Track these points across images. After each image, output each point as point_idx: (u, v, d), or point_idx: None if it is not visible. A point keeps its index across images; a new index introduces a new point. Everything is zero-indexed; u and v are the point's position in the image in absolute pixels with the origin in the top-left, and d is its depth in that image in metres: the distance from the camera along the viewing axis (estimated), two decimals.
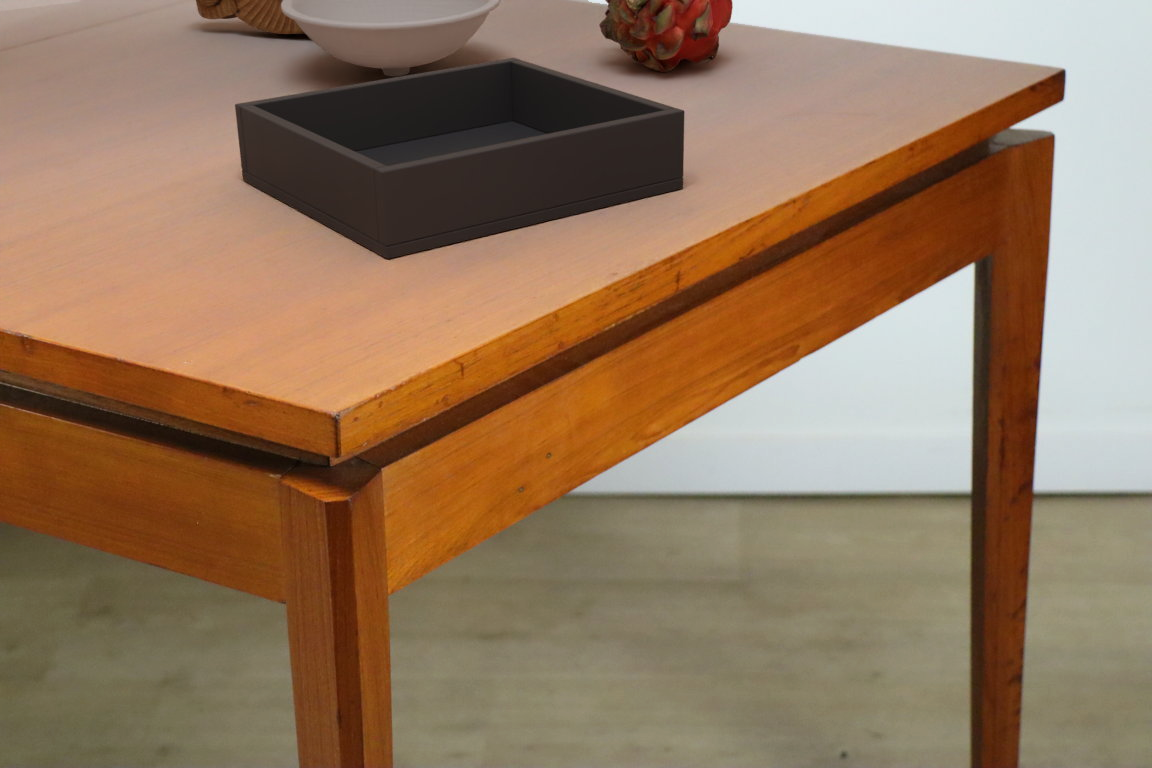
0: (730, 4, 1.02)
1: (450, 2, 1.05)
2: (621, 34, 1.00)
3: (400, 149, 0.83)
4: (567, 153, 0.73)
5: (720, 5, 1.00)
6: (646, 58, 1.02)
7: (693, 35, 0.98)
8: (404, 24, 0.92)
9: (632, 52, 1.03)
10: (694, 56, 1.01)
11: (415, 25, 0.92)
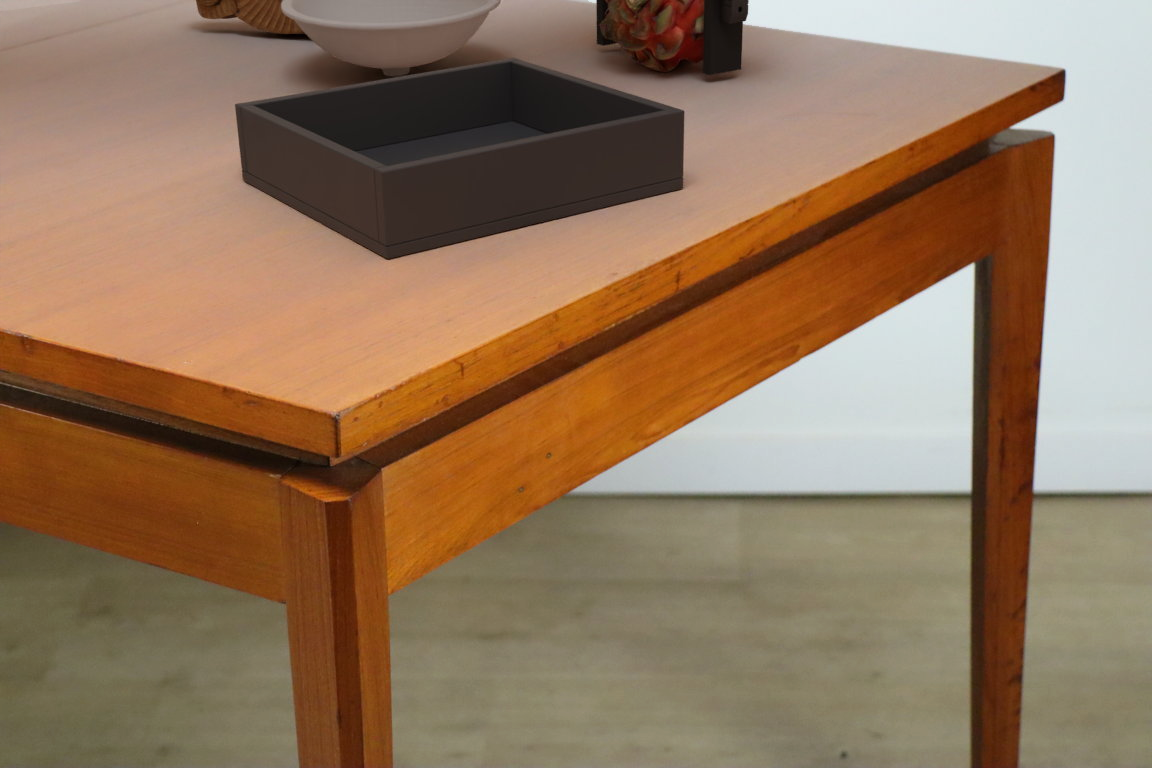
0: None
1: (450, 2, 1.05)
2: (621, 34, 1.00)
3: (400, 149, 0.83)
4: (567, 153, 0.73)
5: None
6: (646, 58, 1.02)
7: (693, 35, 0.98)
8: (404, 24, 0.92)
9: (632, 52, 1.03)
10: (694, 56, 1.01)
11: (415, 25, 0.92)
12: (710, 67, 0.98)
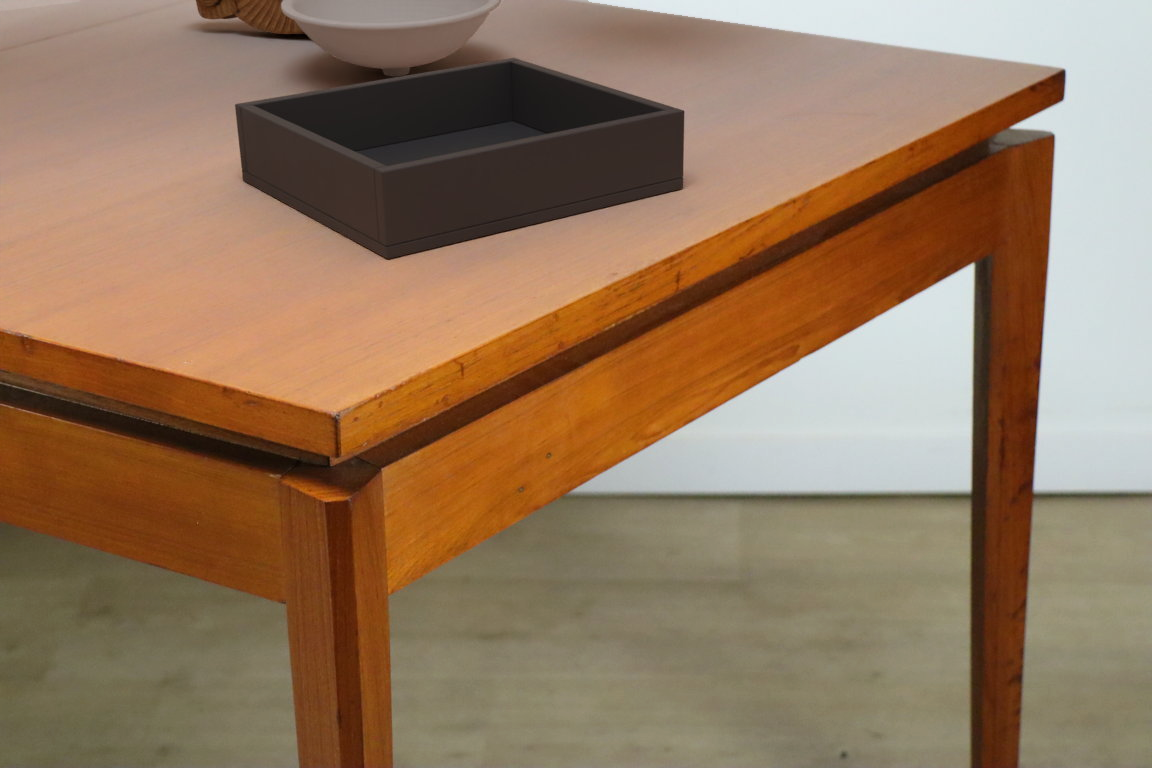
0: None
1: (450, 2, 1.05)
2: None
3: (400, 149, 0.83)
4: (567, 153, 0.73)
5: None
6: None
7: None
8: (404, 24, 0.92)
9: None
10: None
11: (415, 25, 0.92)
12: None
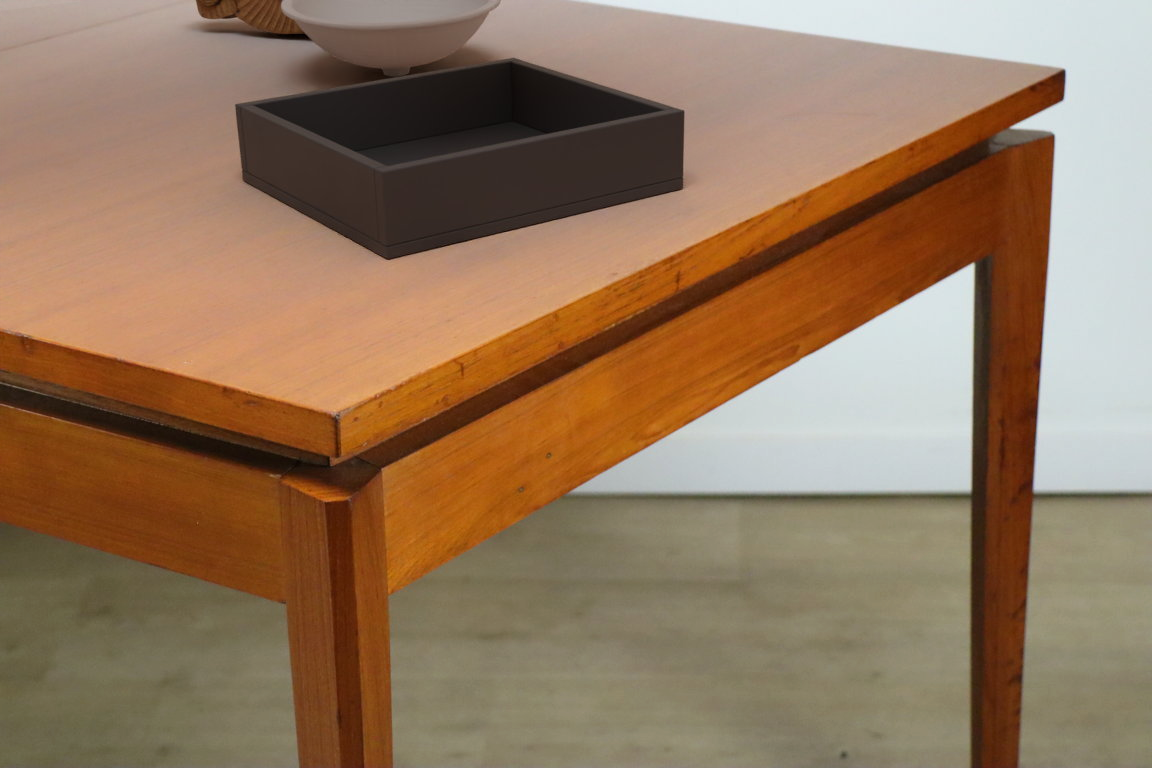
0: None
1: (450, 2, 1.05)
2: None
3: (400, 149, 0.83)
4: (567, 153, 0.73)
5: None
6: None
7: None
8: (404, 24, 0.92)
9: None
10: None
11: (415, 25, 0.92)
12: None
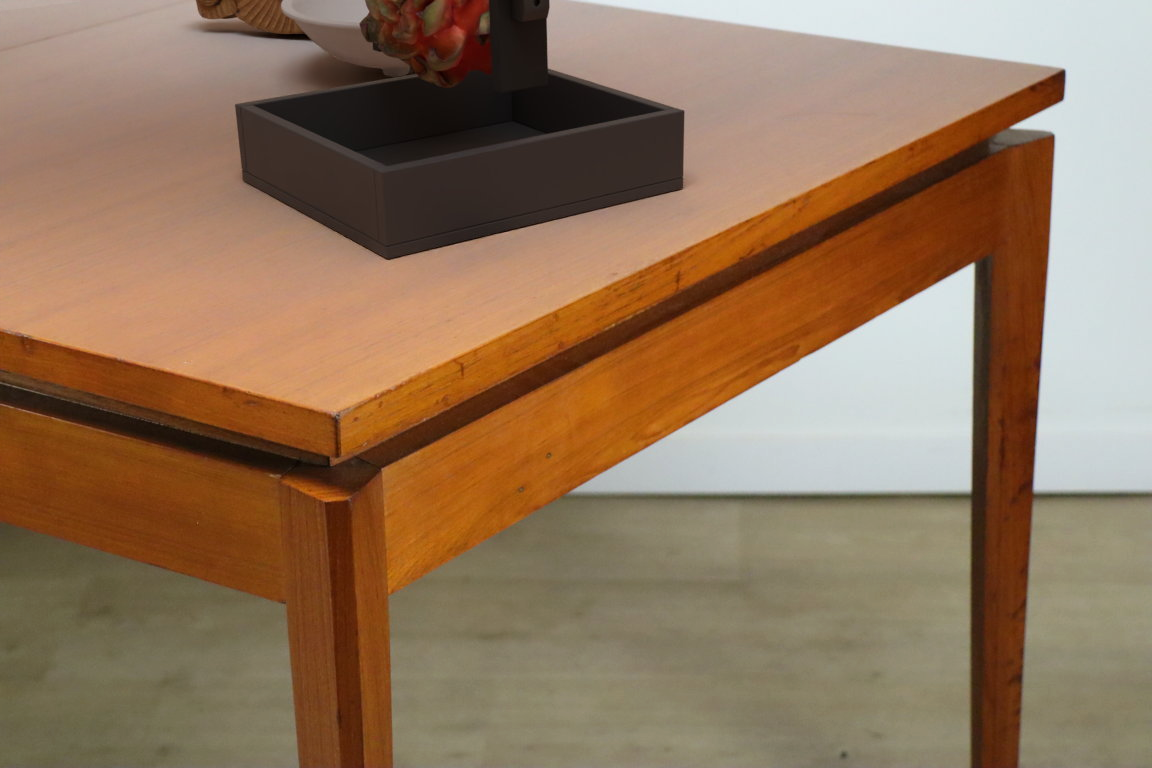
0: None
1: None
2: (384, 36, 0.73)
3: (400, 149, 0.83)
4: (567, 153, 0.73)
5: None
6: (425, 69, 0.75)
7: (477, 37, 0.71)
8: None
9: (409, 60, 0.76)
10: (489, 66, 0.74)
11: None
12: (501, 82, 0.71)
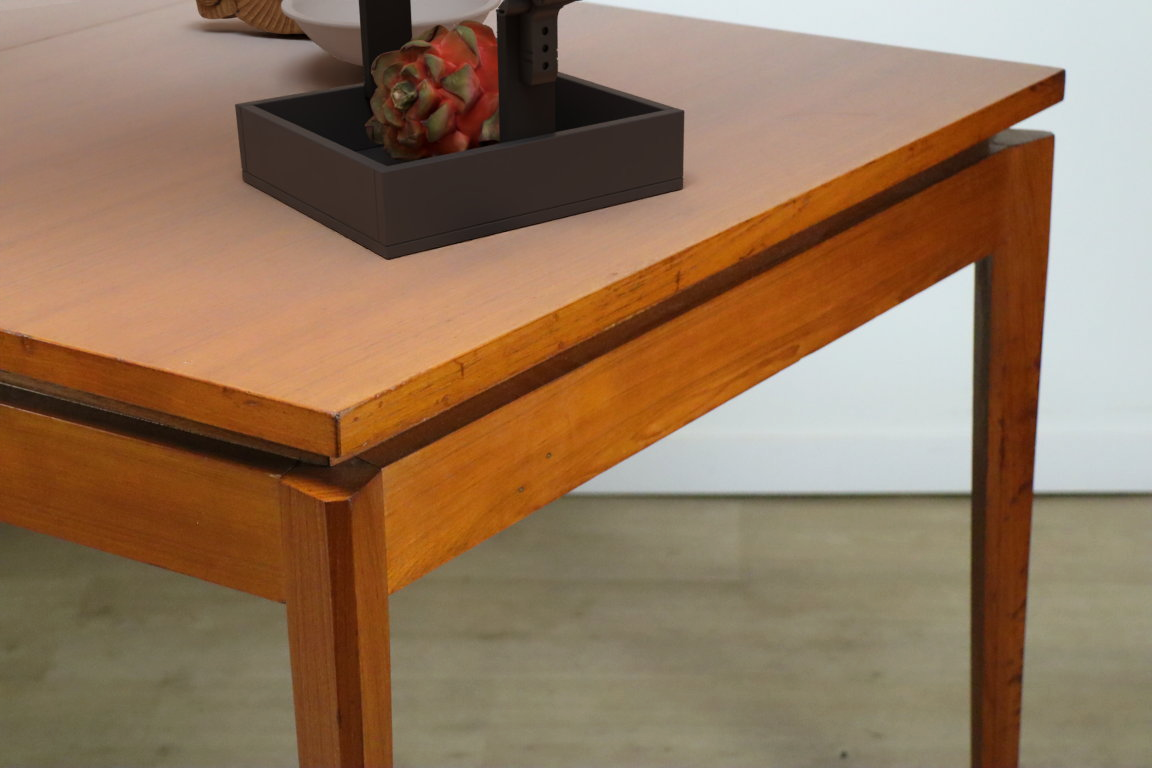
0: None
1: (450, 2, 1.05)
2: (389, 139, 0.75)
3: None
4: (567, 153, 0.73)
5: None
6: None
7: (480, 143, 0.73)
8: None
9: None
10: None
11: (415, 25, 0.92)
12: None
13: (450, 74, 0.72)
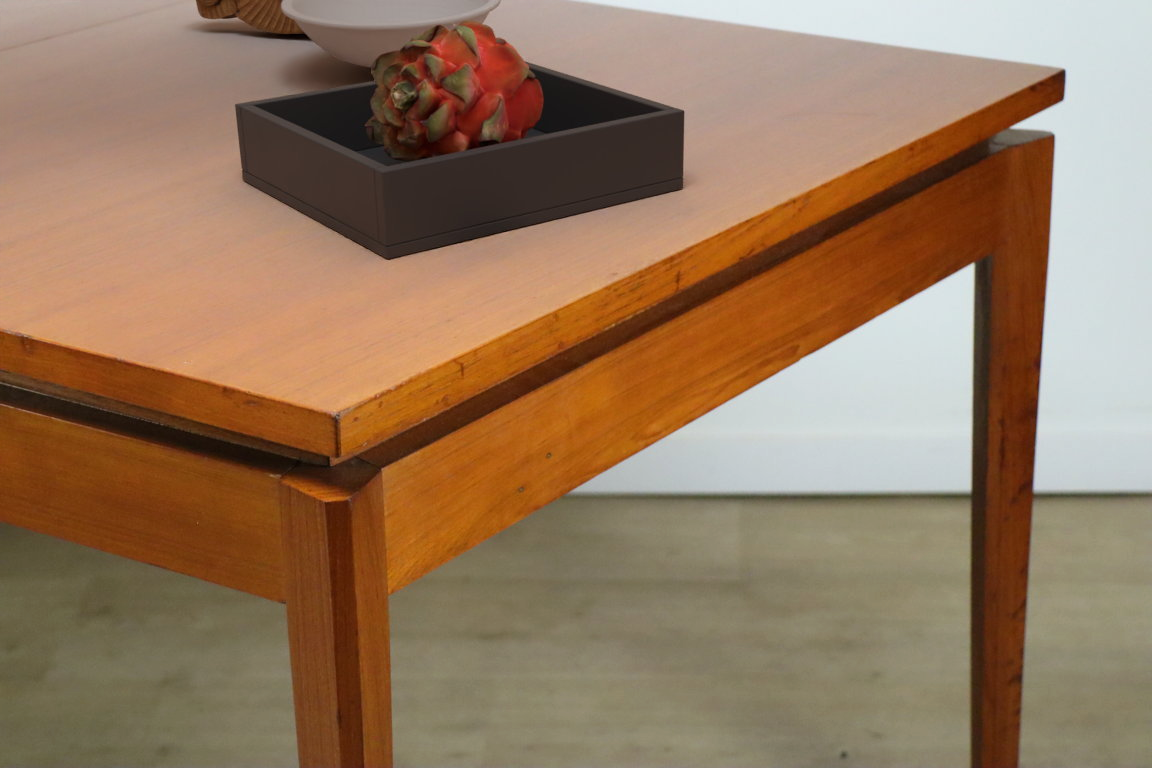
0: (539, 97, 0.77)
1: (450, 2, 1.05)
2: (389, 139, 0.75)
3: None
4: (567, 153, 0.73)
5: (522, 101, 0.75)
6: None
7: (480, 143, 0.73)
8: (404, 24, 0.92)
9: None
10: None
11: (415, 25, 0.92)
12: None
13: (450, 75, 0.72)
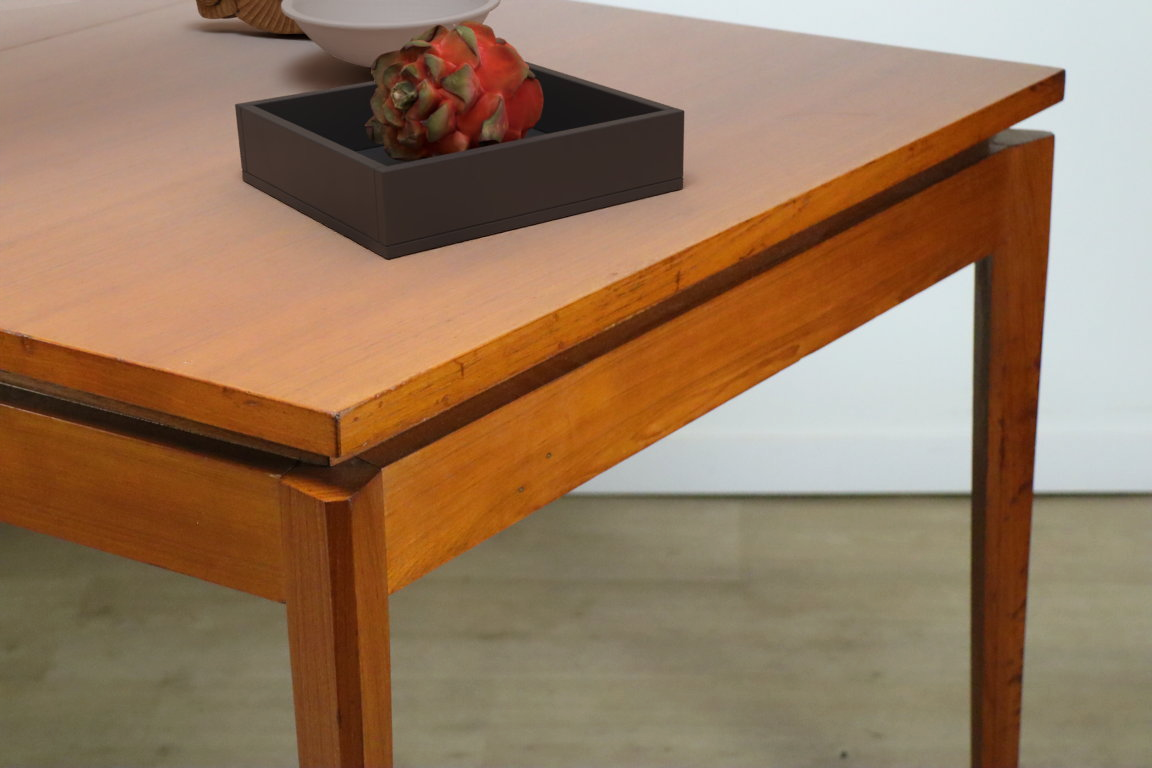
0: (539, 97, 0.77)
1: (450, 2, 1.05)
2: (389, 139, 0.75)
3: None
4: (567, 153, 0.73)
5: (522, 101, 0.75)
6: None
7: (480, 143, 0.73)
8: (404, 24, 0.92)
9: None
10: None
11: (415, 25, 0.92)
12: None
13: (450, 75, 0.72)
